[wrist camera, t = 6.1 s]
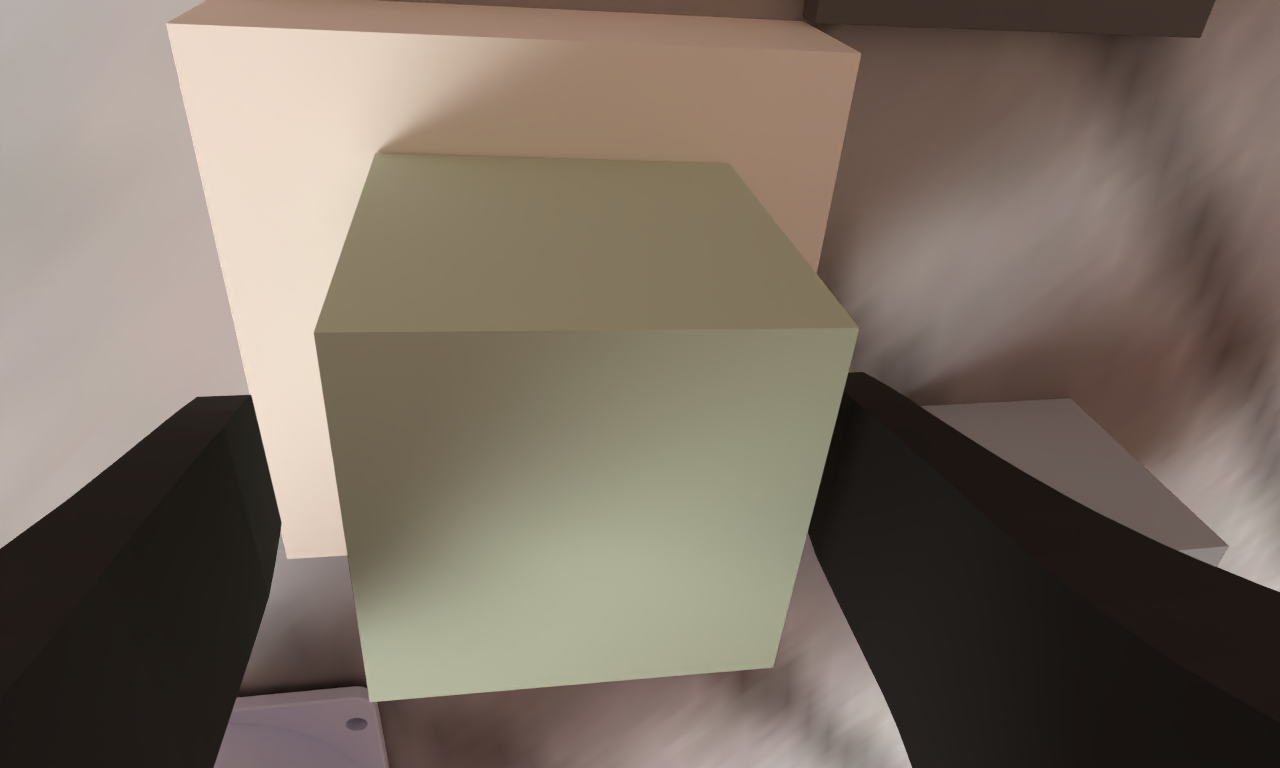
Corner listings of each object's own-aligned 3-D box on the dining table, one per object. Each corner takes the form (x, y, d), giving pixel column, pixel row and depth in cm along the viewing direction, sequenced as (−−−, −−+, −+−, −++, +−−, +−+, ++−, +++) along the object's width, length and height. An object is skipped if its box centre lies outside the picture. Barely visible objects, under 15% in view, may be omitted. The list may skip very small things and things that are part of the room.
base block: (727, 440, 19) (764, 530, 16) (315, 456, 17) (287, 558, 15) (794, 16, 14) (861, 52, 11) (229, -13, 12) (166, 23, 10)
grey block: (1006, 551, 22) (1128, 715, 18) (829, 567, 21) (913, 741, 17) (1068, 396, 19) (1228, 546, 15) (867, 406, 18) (979, 568, 14)
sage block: (690, 437, 15) (772, 666, 11) (402, 446, 14) (369, 702, 10) (729, 163, 12) (859, 328, 8) (375, 153, 11) (313, 332, 7)
